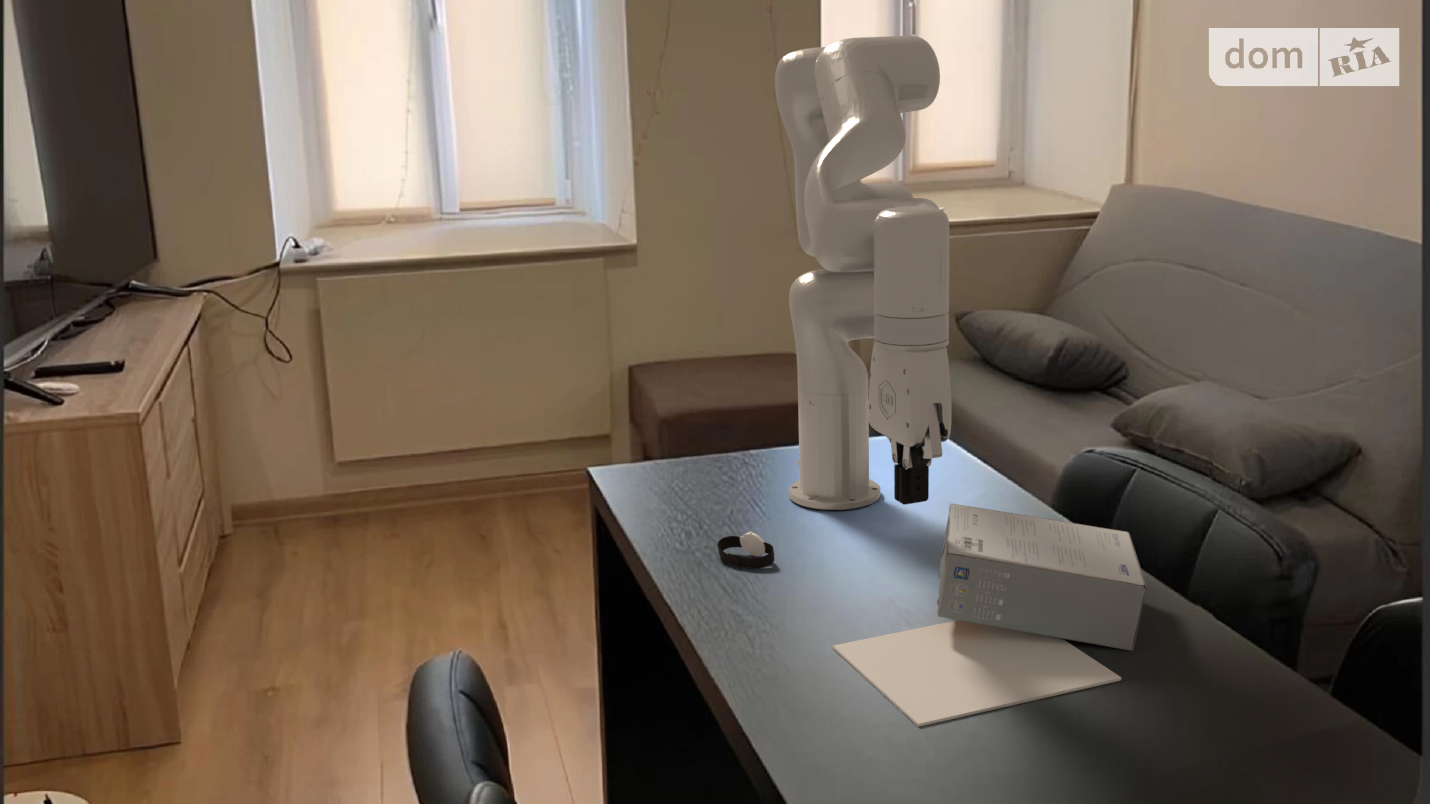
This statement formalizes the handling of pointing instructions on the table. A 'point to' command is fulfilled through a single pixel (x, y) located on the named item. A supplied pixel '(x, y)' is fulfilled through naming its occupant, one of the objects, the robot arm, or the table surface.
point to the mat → (969, 669)
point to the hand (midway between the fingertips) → (911, 500)
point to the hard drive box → (1041, 577)
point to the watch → (752, 546)
